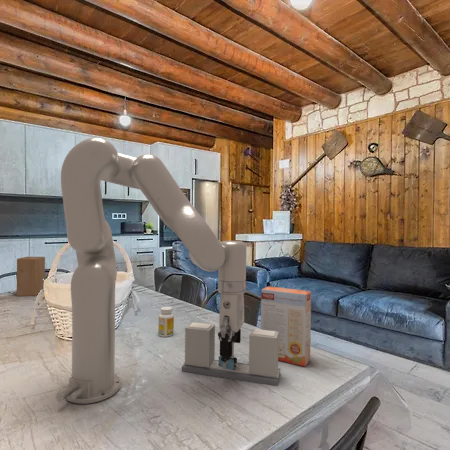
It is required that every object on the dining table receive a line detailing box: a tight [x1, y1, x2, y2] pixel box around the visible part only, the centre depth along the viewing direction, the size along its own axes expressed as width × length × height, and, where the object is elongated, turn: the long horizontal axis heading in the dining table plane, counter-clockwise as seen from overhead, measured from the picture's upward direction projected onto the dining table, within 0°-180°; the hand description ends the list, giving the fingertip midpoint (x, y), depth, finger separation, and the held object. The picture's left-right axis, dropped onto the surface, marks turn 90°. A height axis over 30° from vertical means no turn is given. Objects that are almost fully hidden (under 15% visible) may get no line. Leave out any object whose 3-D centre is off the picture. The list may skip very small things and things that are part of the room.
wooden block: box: [16, 256, 46, 297], centre depth 171 cm, size 10×10×20 cm
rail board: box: [181, 321, 281, 387], centre depth 86 cm, size 7×26×12 cm, turn 74°
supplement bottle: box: [158, 306, 175, 338], centre depth 113 cm, size 5×5×10 cm
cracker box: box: [260, 285, 312, 367], centre depth 95 cm, size 14×6×21 cm, turn 59°
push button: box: [217, 328, 241, 370], centre depth 85 cm, size 7×5×10 cm
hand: (230, 348), depth 86 cm, fingers open, 9 cm apart
